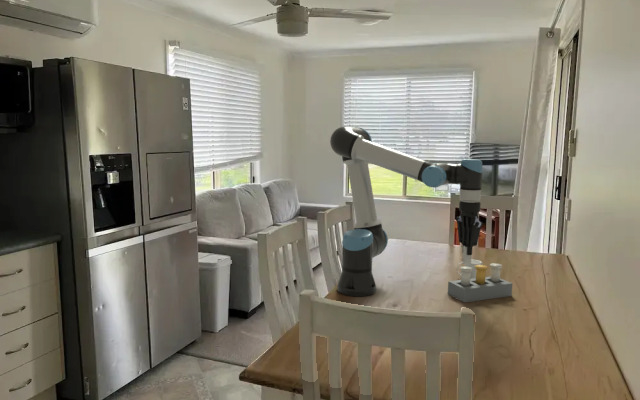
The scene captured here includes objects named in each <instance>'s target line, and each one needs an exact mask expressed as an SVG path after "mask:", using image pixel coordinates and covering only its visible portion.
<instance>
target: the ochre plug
mask: <svg viewBox="0 0 640 400" xmlns="http://www.w3.org/2000/svg"><path fill="white" fill-rule="evenodd" d="M475 268H476V283H477V284H485V277H486V273H487V270H488V266H487V265H483V264H482V265H475Z"/></svg>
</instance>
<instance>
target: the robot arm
mask: <svg viewBox="0 0 640 400" xmlns="http://www.w3.org/2000/svg"><path fill="white" fill-rule="evenodd" d="M329 142H330V143H329V144H330V148H331V150H332V151H333V152H334V153H335V154H336V155H338V156H341V160H342V162H343V164H345V165H346V167H347V173H348V178H349V179H348V180H349V184H350V190H351V197H352V202H353V210H354V215H355V220H356V222H355V224H354V226H353V229H350V230H346V231H345V233H344V234H343V236H342V241H341V242H342V244H341V245H342V246H341V247H342V248H341V249H342V256H341V257H342V258H341V260H342V261H341V263H342V265H341V273H340V276H339V279H338V281H337V287H336V289H337V292H338V293H340V294H342V295H344V296H349V297H367V296H372V295H373V294H375V293H376V292H377V284H376V281H375V278H374V274H373V269H372V268H373V258H375V257H377V256H379V255H380V254H382V253H383V252H384V251H385V249H387V246H388V242H389V240H388V239H389V238H388V234H387V232H386V231H385V229H383V224H382V221H381V220H379V219H378V217H377V211H376V204H375V199H374V193H373V192H374V191H373V187H372V180H371V174H370V168H369V163H370V164H372V165H374V166H377V167H380V168H382V169H385V170H388V171H391V172H394V173H397V174H399V175H403V176H404V177H408V178H410V179H413V180H416V181H419V182H420V183H423V184H424V185H425V186H426V187H429V188H434V189H435V188H438V187H441V186H443V185H445V184H447V185H448V184H449V185H459V203H458V205H459V206H458V210H459V211H460V214H459V216H456V217H455V220H456V221H455V222H456V225H457V226H456V227H457V233H458V234H457V235H458V242H459V243H461V245H462V251H461V252H462V263H465V264H467V263H471V259H472V255H473V247H477V245H478V242H479V238H480V233H481V228H482V227H483V225H484V223H483V221H480V220H479V212H481V199H482V186H483V185H482V182H483V172H484V171H483V161H482V160H481V159H479V158H478V159H477V158H462V159H461V162H460V163H457V164H456V163H440V162H436V163H434V162H430V161H426V160H424V159H421V158H418V157H415V156H412V155H410V154H407V153H404V152H401V151H398V150H395V149H392V148H390V147H386V146H384V145H381V144H378V143H375V142H373V140H372V136H371V135H370V132H368V131H367V130H366V129H365V128H363V127H359V126H341V127H338V128H337V129H335V130H333V132H332V134H331V136H330V141H329ZM462 263H461V264H462ZM465 264H464V265H465Z"/></svg>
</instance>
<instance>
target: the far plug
mask: <svg viewBox="0 0 640 400" xmlns="http://www.w3.org/2000/svg"><path fill="white" fill-rule="evenodd" d="M489 268H490V276H491V277H490V276H489V277H490V281H491V282H494V283H499V282H500V279H501V269H502V268H503V265H502V264H500V263H490V264H489Z"/></svg>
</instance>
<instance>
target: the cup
mask: <svg viewBox="0 0 640 400" xmlns="http://www.w3.org/2000/svg"><path fill="white" fill-rule="evenodd" d="M462 262H463V261H462ZM462 262H459V263H458V265H457V267H456V271H457V274H458V275H459V276H461V272H459V267H460V265H461V264H462V265H464V266H466V267H471V268H472V271H471V275H470V279H472V278H476V268H475V265H483V262H482V261H481V260H479V259H474V258H471V263H467V264H465V263H462Z"/></svg>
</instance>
